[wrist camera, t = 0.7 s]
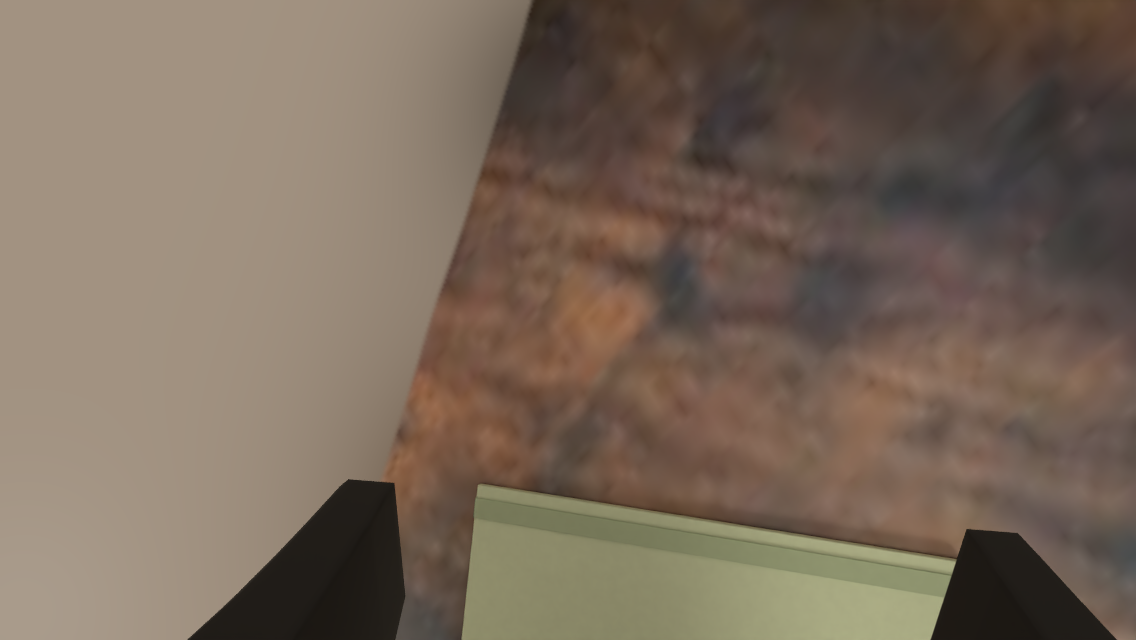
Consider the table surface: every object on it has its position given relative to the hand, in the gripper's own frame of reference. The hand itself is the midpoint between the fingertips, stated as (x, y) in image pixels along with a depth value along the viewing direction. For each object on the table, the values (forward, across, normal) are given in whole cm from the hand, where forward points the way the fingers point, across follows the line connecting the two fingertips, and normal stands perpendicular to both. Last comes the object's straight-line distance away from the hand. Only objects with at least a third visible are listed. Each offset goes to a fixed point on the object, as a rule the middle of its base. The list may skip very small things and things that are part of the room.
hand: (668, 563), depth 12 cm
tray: (+15, -2, +19) cm, 25 cm away
